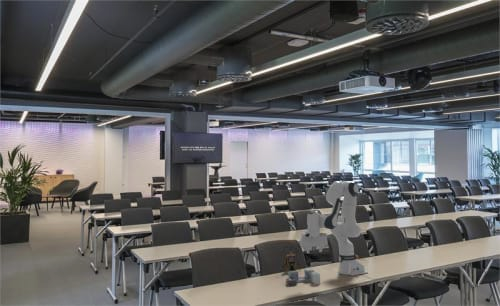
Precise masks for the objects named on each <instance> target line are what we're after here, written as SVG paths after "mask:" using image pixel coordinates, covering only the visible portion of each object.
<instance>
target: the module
mask: <svg viewBox="0 0 500 306" xmlns="http://www.w3.org/2000/svg"><path fill="white" fill-rule="evenodd" d="M311 283H312V284H313V285H319V284H321V274H320V272H317V271H315V272H312V281H311Z"/></svg>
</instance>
